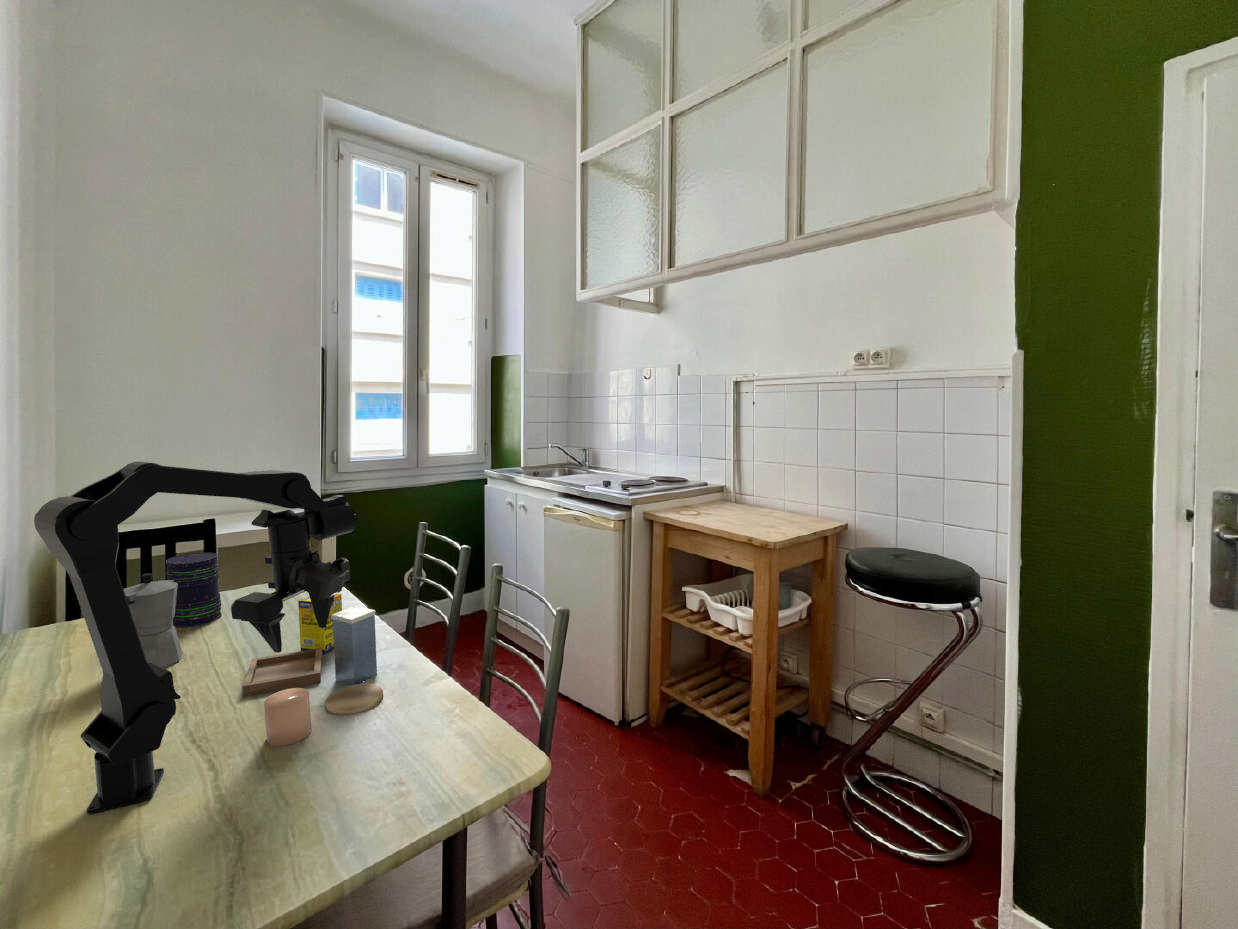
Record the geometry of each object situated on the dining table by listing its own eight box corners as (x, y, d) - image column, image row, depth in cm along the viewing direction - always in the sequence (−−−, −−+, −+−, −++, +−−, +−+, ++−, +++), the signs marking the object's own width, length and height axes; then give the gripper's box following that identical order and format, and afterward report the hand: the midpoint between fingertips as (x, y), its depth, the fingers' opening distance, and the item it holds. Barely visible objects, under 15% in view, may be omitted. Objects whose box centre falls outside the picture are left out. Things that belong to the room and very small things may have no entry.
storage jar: (230, 617, 138) (226, 556, 136) (181, 631, 129) (176, 565, 128) (210, 609, 143) (206, 550, 141) (163, 622, 135) (157, 559, 133)
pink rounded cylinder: (311, 739, 88) (308, 702, 87) (265, 750, 85) (261, 712, 84) (311, 720, 93) (309, 684, 92) (268, 729, 90) (265, 693, 90)
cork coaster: (385, 707, 97) (384, 702, 97) (325, 719, 93) (325, 714, 93) (381, 683, 105) (381, 679, 105) (326, 694, 101) (325, 690, 101)
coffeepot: (152, 649, 120) (144, 564, 118) (200, 647, 120) (194, 563, 119) (92, 685, 104) (82, 588, 102) (148, 683, 105) (140, 587, 103)
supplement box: (325, 654, 118) (322, 602, 116) (299, 651, 119) (296, 600, 118) (344, 642, 123) (342, 593, 122) (320, 640, 125) (317, 591, 123)
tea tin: (354, 687, 104) (351, 619, 103) (334, 680, 106) (331, 614, 105) (377, 675, 109) (375, 610, 107) (358, 669, 111) (355, 605, 110)
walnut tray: (320, 682, 106) (320, 672, 106) (243, 696, 101) (242, 686, 100) (322, 656, 117) (321, 647, 116) (252, 668, 111) (251, 659, 111)
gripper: (282, 570, 82) (294, 673, 84) (372, 535, 99) (380, 620, 102) (222, 565, 85) (235, 664, 87) (319, 531, 103) (328, 615, 105)
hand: (301, 639), depth 95 cm, fingers open, 9 cm apart
